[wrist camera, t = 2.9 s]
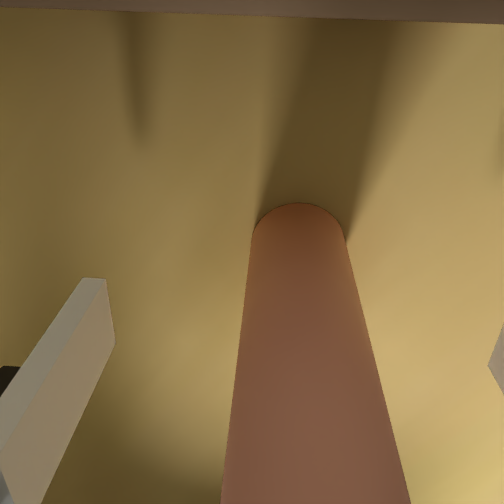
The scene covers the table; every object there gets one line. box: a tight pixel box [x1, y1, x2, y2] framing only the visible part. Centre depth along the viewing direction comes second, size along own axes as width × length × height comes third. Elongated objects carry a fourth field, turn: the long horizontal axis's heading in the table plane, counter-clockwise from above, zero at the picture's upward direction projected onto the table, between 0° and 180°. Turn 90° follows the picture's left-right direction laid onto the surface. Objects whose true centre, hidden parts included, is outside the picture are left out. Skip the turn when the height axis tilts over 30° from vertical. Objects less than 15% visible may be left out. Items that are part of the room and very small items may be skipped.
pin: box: [220, 203, 411, 504], centre depth 14 cm, size 4×4×14 cm
